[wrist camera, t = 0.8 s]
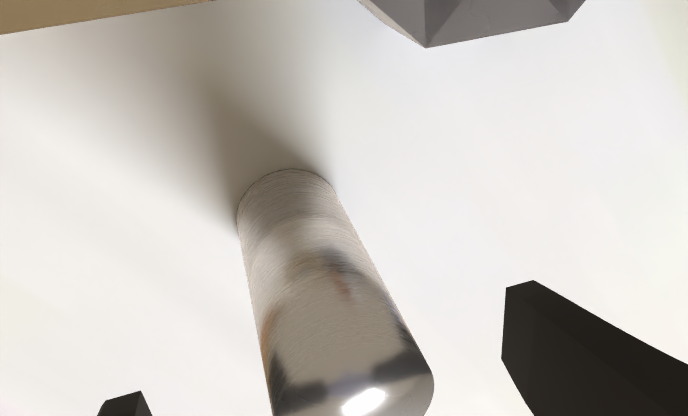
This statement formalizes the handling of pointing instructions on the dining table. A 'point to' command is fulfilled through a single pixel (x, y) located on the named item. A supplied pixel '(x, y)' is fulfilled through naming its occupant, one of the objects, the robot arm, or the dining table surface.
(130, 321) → the dining table surface
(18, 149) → the dining table surface
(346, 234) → the pin
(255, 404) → the dining table surface
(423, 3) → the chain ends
